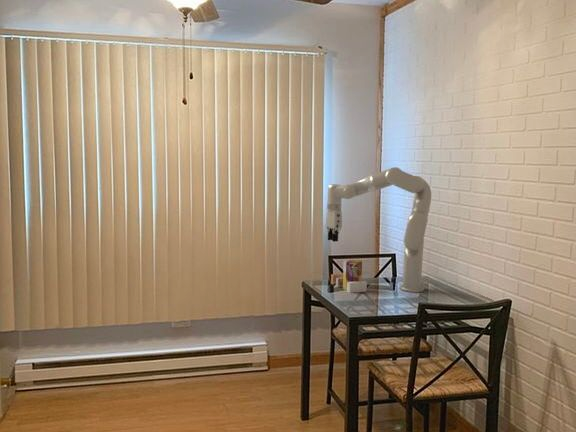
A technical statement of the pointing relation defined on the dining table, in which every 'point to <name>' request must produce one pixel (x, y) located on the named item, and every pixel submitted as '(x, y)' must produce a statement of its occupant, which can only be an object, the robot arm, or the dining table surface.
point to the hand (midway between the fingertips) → (332, 240)
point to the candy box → (351, 271)
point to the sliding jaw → (337, 279)
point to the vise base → (356, 286)
